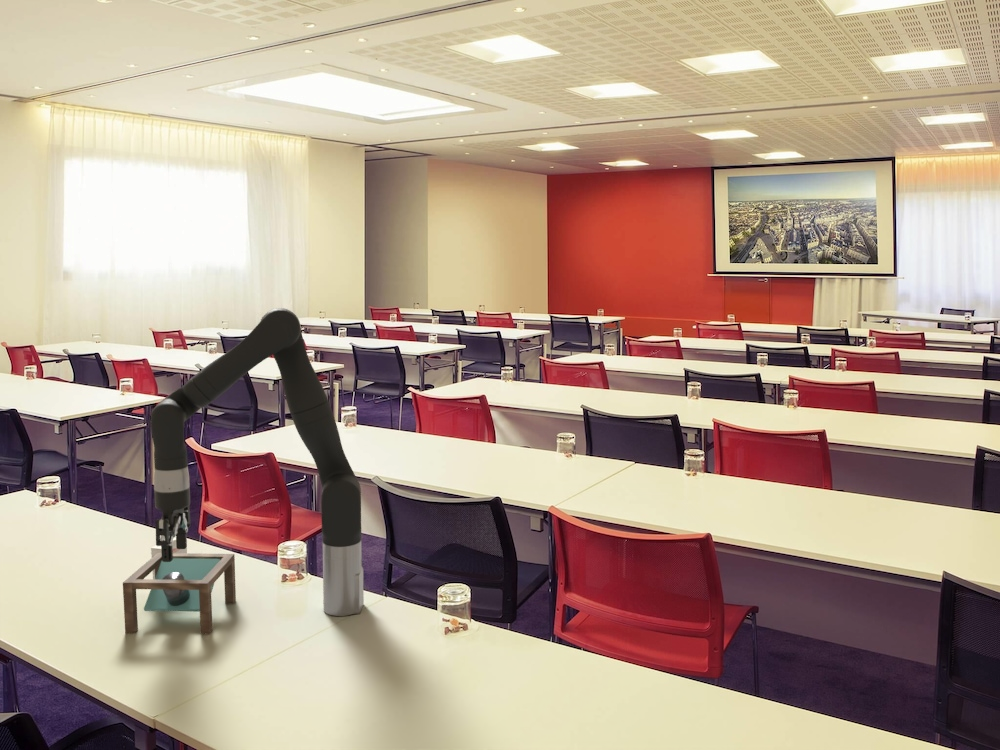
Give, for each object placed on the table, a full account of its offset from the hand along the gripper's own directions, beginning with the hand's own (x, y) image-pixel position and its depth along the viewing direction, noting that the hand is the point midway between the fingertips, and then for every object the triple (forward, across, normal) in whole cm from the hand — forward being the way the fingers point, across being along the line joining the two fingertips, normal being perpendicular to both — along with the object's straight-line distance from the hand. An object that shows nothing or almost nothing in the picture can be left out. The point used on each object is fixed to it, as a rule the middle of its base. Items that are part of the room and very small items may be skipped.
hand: (174, 554), depth 189 cm
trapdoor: (+9, +5, 0) cm, 10 cm away
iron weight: (+10, +1, 0) cm, 11 cm away
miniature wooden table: (+16, +4, 0) cm, 17 cm away
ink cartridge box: (+17, +22, +10) cm, 29 cm away
